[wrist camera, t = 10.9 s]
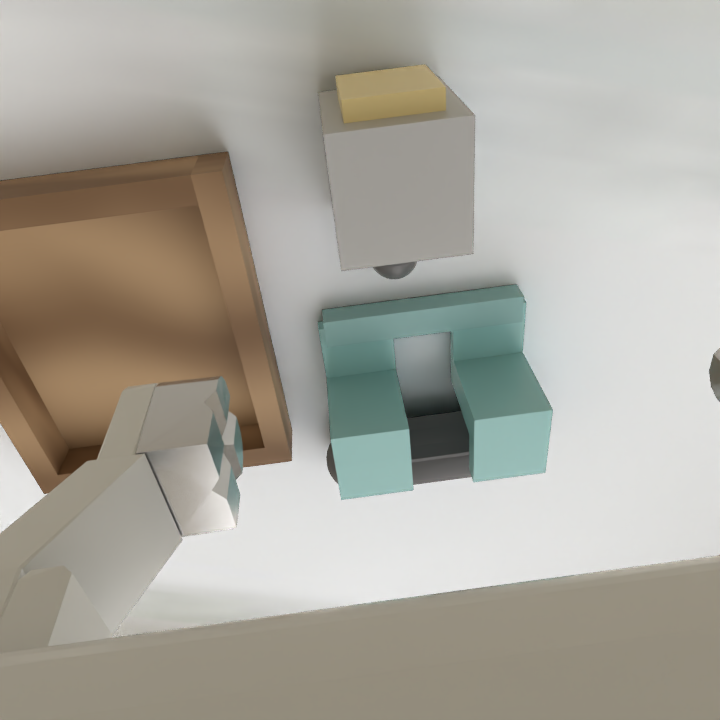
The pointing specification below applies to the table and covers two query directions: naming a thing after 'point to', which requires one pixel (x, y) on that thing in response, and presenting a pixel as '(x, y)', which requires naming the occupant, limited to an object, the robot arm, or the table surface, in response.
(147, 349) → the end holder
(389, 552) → the table surface
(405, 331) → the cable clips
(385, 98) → the connector plug
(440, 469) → the grey rounded bar
